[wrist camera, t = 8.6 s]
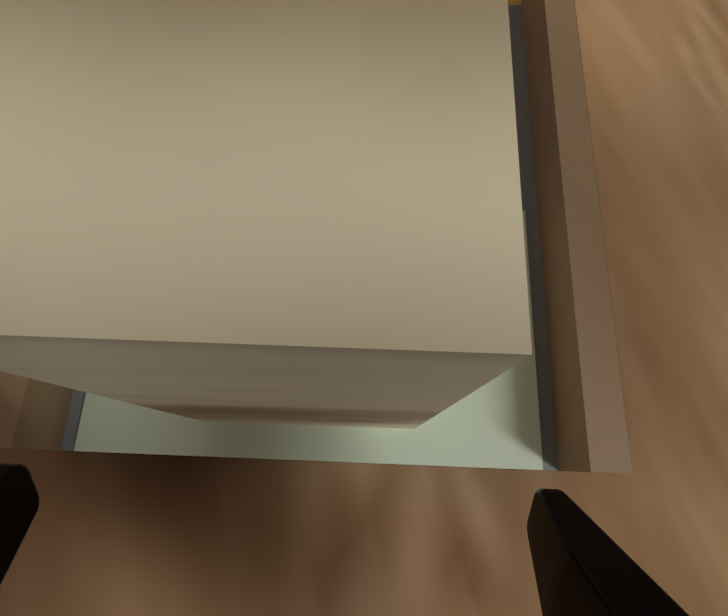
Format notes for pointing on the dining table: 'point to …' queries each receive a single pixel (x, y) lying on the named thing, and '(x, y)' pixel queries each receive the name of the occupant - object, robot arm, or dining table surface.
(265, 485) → the dining table surface
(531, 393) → the trough deck
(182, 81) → the maple block
